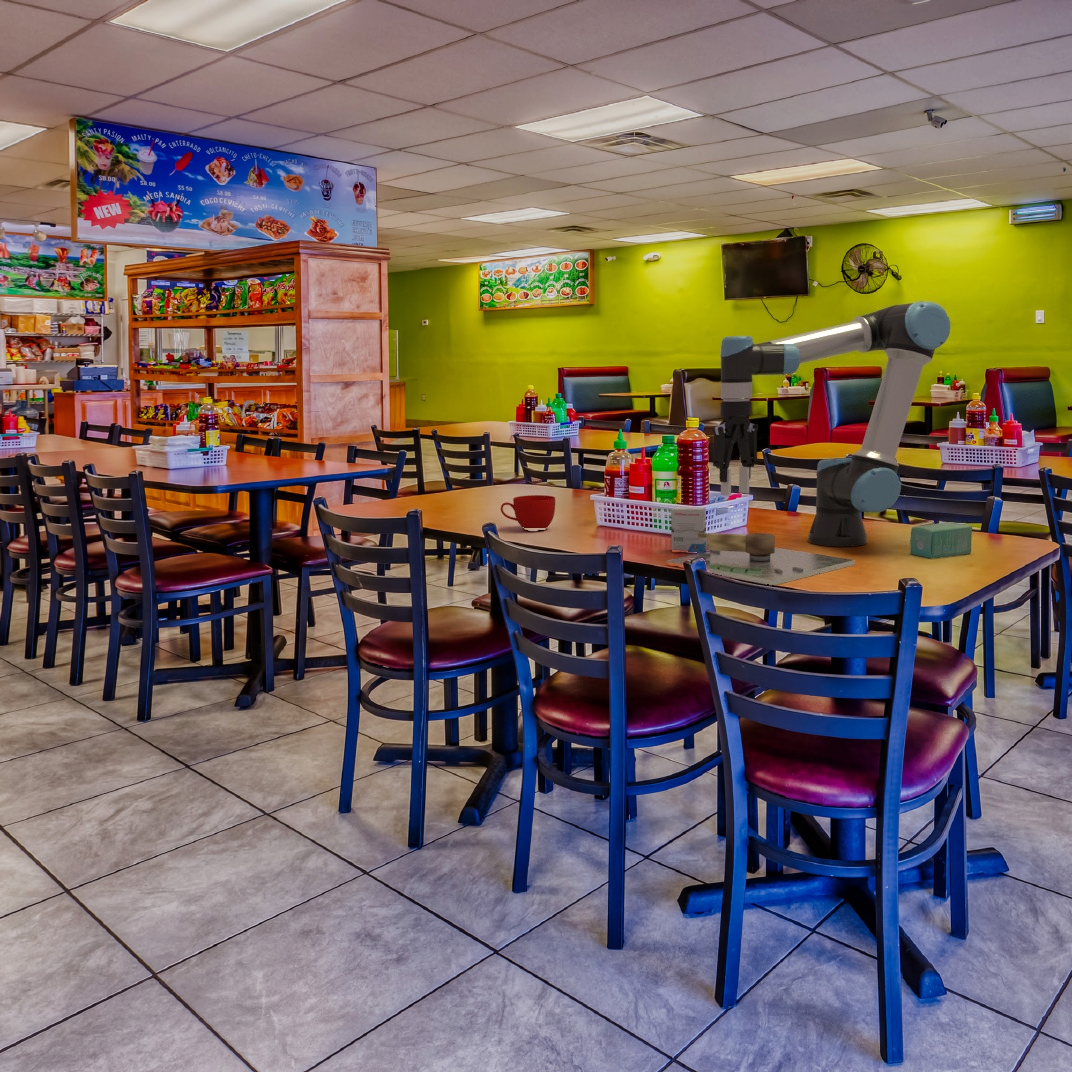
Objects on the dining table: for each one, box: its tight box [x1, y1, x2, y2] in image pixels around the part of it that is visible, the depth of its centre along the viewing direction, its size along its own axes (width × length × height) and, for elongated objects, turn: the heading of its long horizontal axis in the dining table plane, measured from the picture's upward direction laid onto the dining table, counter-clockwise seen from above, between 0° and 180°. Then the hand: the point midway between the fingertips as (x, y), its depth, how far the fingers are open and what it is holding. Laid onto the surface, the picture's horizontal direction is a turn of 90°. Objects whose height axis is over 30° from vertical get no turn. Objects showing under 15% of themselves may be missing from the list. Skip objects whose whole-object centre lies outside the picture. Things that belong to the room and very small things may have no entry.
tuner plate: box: [666, 547, 856, 586], centre depth 232 cm, size 32×32×3 cm
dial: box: [698, 532, 776, 555], centre depth 233 cm, size 19×7×4 cm, turn 69°
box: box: [909, 521, 973, 559], centre depth 239 cm, size 7×14×8 cm, turn 113°
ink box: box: [670, 506, 707, 554], centre depth 250 cm, size 9×5×12 cm, turn 70°
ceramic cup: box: [500, 494, 556, 529], centre depth 290 cm, size 13×17×10 cm
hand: (734, 493), depth 236 cm, fingers open, 6 cm apart
